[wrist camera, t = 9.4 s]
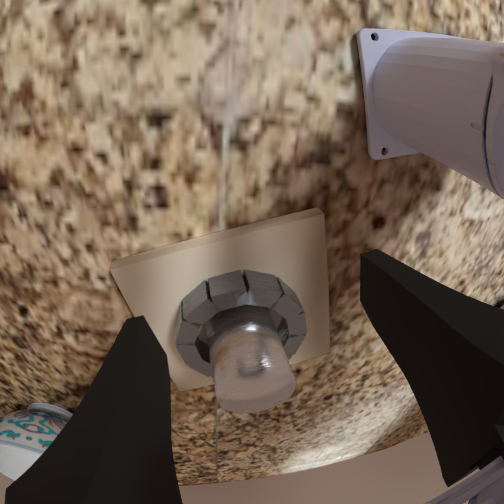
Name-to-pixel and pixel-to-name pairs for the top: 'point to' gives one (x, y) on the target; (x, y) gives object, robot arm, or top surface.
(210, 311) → the ring collar
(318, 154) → the top surface
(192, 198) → the top surface
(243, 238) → the birch board
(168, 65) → the top surface
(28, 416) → the chinaware
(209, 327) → the cylinder
